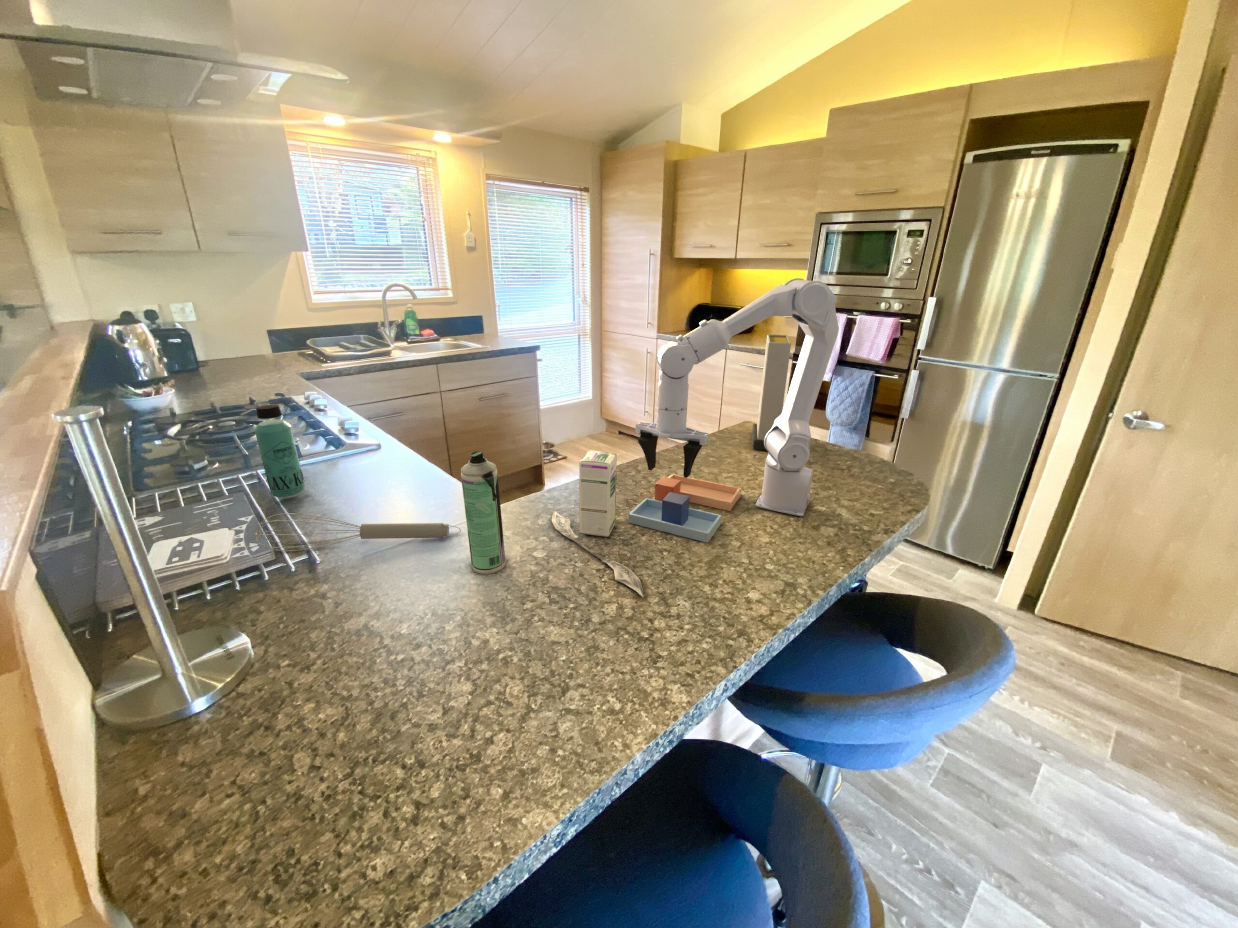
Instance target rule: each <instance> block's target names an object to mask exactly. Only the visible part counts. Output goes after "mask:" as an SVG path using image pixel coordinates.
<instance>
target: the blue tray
mask: <svg viewBox="0 0 1238 928" xmlns="http://www.w3.org/2000/svg"><path fill="white" fill-rule="evenodd" d="M722 516H723V515H722V514H720V513H719V514H718V513H713V512H709V511H706V510H701V509H696V508H692V507H689V513H688V520H687V521H686V522H685V524H684V525H683V526H681V525H677V524H673V523H669V522H664V521H661V518H662V501H658V500H655V498H648V497H645V498H644V499H643V500H642V501H641V502H640V503H638V505H636V506H635V507H634V508H633V509H632V510H631V511H630V512H628V523H629V524H633V525H636V526H639V527H645V528H648V529H653V530H655V531H660V532H664V533H667V534H668V533H669V534H672V535H675V536H680V537H685V538H688V539H692V540H695V541H699V542H702V543H707V544H708V543H709V542H710V541H711V539H712V537H713V536H714V534H716V532H717V530H718V529H719V527H720V526H721V524H722Z"/></svg>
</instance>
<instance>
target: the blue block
mask: <svg viewBox="0 0 1238 928" xmlns="http://www.w3.org/2000/svg"><path fill="white" fill-rule="evenodd" d="M689 498H690V496H686V495H681V494H677V493H672V492H670V493H669V494H668V495H667V496H666V497H665V498H664V499H663V500H662V518H661V521H664V522H669V523H673V524H677V525H681V526H683V525H684V524H685V522H686V521H687V520H688V513H689V508H690V502H689Z"/></svg>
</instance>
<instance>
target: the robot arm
mask: <svg viewBox="0 0 1238 928" xmlns="http://www.w3.org/2000/svg"><path fill="white" fill-rule="evenodd" d="M836 303H837V296H836V295H835V294H834V292H833V291H832V290H831V288H830V287H829V286H828V285H827V284H826V283H825V282H824V281H821V280H807V279H803V278H799V277H797V278H796V277H795V278H792V279H789V280H788V281H786V282H785V283H784V284H780V285H777V286H775V287H773V288H772V289H770V290H768V291H767V292H766V293H764V294H763V295H761V296H760V297H758V298H756V299H754V300H753V301H752V302H750V303H749V304H747V305H745V306H744V307H742V308H741V309H739V310H738V311H736V312H734V313H732V314H731V315H730V316H728V317H726V318H724V320H717V319H710V320H707V319H703V320H701V321H700V322H699V323H698V324H699V326H698V327H697V328H695V329H693V330H692V331H690V332H687V333H686V334H684V335H682V334H680V335H677V336H676V341H670V342H669V341H668V342H666V343H665V344H663V345H662V346H661V347H660V349H659V351H658V352H657V355H656V362H657V364H658V367H660V369H659V373H658V379H659V381H658V384H657V405H656V407H657V408H656V409H657V410H656V423H655V422H642V421H639V422H638V423H636V424H635V434H636V435H639V437H638V438H637V442H638V445H639V446H640V448H641V450H642V452H643V455H644V458H645V461H646V464H647V470H648V471H653V470H654V469H655V468H656V464H657V463H656V462H657V446H658V439H659V438H661V439H671V440H678V441H682V442H687V443H686V444H684V445H683V446H682V447H683V449H682V450H683V457H684V458H683V460H684V461H683V462H684V464H683V473H682V474H683V475H682V476H684V477H685V478H687V477H690V476H691V475H692V469H693V467H694V463H695V461H696V459H697V456H698V454H699V453H700V450H701V449H702V447H704V446H706V445H707V444H708V442H709V433H708V432H704V431H701V430H697V429H693V428H690V427H687V418H688V417H687V416H688V402H689V401H688V400H689V387H690V386H689V374H690V373H691V371H692V370H693V368H694V365H699V364H700V363H702V362H704V361H706V360H707V359H709V358H711V357H712V356H714V355H716V354H718V353H719V352H721V351H723V350H724V349H727V348H728V346H729V343H730V340H731V338H732V337H734V336H736V335H738V334H740V333H742V332H743V331H746V330H748V329H749V328H751V327H753V326H755V325H757V324H759V323H761V322H763V321H765V320H767V319H769V318H770V317H792V318H793V319H794V320H796V322H797V324H798V325H799V327H800V328H801V330H802V331H803V333H804V334H805V337H804V340H803V343H802V346H801V350H800V353H799V357H798V360H797V363H796V366H795V369H794V371H793V375H792V378H791V382H790V385H789V388H788V393H787V395H786V398H785V400H784V404H783V410H782V414H781V415H780V416H779V417H778V418H776V419H775V421H774V424H773V427H772V428H771V429H770V431H769V432H768V433H767V434H766V436H765V439H764V446H765V448H766V450H765V451H767V452H768V453H767V457H766V458H765V464H764V471H763V479H762V488H761V494H760V496H759V497H758V499H757V501H756V503H755V505H754V506H755V507H756V508H760V509H764V510H769V511H774V512H778V513H783V514H786V515H787V514H788V515H792V516H797V517H803V516H804V515H805V512H806V510H807V508H808V505H810V501H811V490H812V484H813V476H814V469H813V468H810V467H806V464H807V463H808V462H809V460H810V457H811V450H810V442H811V439H812V434H811V428H810V420H811V417H812V414H813V411H814V408H815V405H816V401H817V400H818V396H819V393H820V390H821V386H822V383H823V380H824V378H825V374H826V372H827V368H828V365H829V363H830V360H831V357H832V353H833V351H834V347H835V344H836V341H837V338H838V336H839V330H840V327H839V322H838V316H837V310H836Z"/></svg>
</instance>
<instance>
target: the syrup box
mask: <svg viewBox="0 0 1238 928" xmlns="http://www.w3.org/2000/svg"><path fill="white" fill-rule="evenodd" d="M578 465H579V467H578V468H579V478H578V479H579V481H578V482H579V486H578V487H579V489H578V490H579V493H578V495H579V496H578V497H579V503H578V504H579V505H578V506H579V510H578V511H579V513H578V514H579V516H578V517H579V519H578V521H579V523H578V525H579V527H578V529H579V533H580V534H586V535H591V536H599V537H606V538H607V537H610V534H611V533H612V530H613V528H614V527H615V525H616V516H617V515H616V512H617V475H618V474H617V472H618V471H617V469H618V467H617V466H618V454H617V453H615V452H611V451H610V452H609V451H602V450H587V452H586V453H585V455H584V456H582V457H581V459H580V460H579V462H578Z"/></svg>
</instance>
